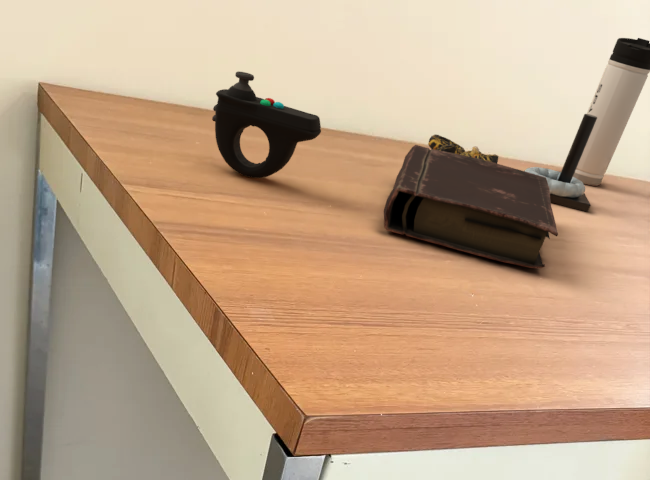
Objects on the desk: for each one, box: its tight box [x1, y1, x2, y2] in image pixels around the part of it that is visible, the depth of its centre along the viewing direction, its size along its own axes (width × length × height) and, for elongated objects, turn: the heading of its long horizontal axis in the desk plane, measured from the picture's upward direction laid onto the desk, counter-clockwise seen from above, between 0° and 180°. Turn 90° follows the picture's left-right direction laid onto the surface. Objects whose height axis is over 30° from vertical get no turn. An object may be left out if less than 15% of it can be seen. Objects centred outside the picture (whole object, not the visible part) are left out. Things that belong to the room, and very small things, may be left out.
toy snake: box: [427, 134, 499, 164], centre depth 120 cm, size 18×5×10 cm
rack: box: [550, 113, 597, 213], centre depth 116 cm, size 8×8×11 cm
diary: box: [383, 144, 559, 269], centre depth 96 cm, size 19×25×5 cm
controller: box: [211, 71, 322, 179], centre depth 93 cm, size 4×12×10 cm, turn 71°
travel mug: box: [573, 37, 650, 187], centre depth 128 cm, size 6×7×20 cm
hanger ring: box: [524, 166, 586, 198], centre depth 118 cm, size 9×9×2 cm
